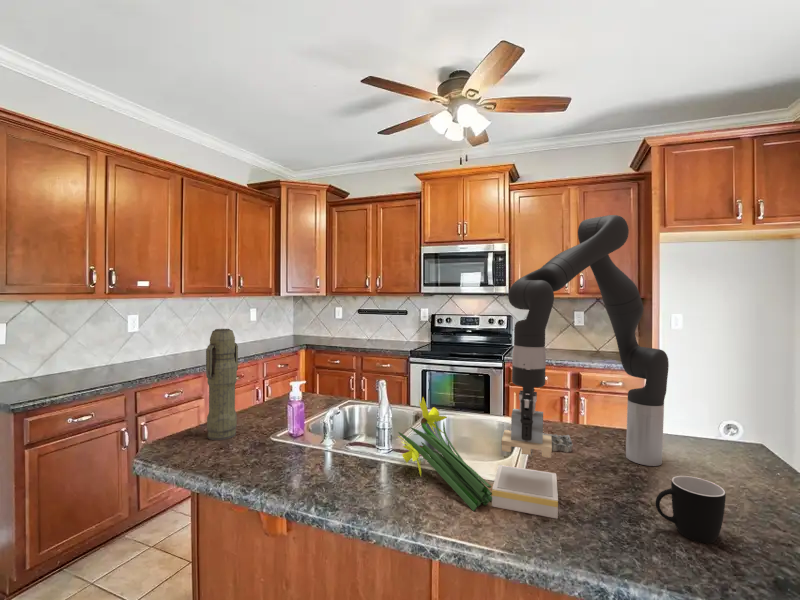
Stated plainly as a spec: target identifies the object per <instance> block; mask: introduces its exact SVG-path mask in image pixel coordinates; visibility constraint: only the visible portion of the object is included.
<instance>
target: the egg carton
mask: <svg viewBox="0 0 800 600" xmlns="http://www.w3.org/2000/svg"><path fill="white" fill-rule="evenodd" d="M543 435H550V436H551V439H552V452H558V451H561V452H564V453H571V452H572V449H573V446H574V445H573V441H572V439H571V436H570V434H566V435H565V434H564V435H562V434H559V435H558V434H556V433H555V434H551V433H550V434H548V433H544V432H543Z"/></svg>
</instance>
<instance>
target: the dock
mask: <svg viewBox="0 0 800 600" xmlns="http://www.w3.org/2000/svg"><path fill="white" fill-rule="evenodd" d="M557 479H558V478H557V473H555V472H550V471H549V472H548V471H543V470H536V469H530V468H525V467H524V468H522V467H516V466H510V465H503V464H498V466H497V468H496V474H495V478H494V479H493V481H494V482H493V485H492V487H491V488H492V489H491V493H492V495H491V496H492V501H491V507H493V508H499V509H504V510H508V511H509V510H510V511H515V512H519V513H526V514H530V515H536V516H542V517H547V518H552V519H558V518H559V517H558V515H559V512H558V511H559V510H558V509H559V495H558V481H557Z"/></svg>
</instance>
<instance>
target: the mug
mask: <svg viewBox="0 0 800 600" xmlns="http://www.w3.org/2000/svg"><path fill="white" fill-rule="evenodd" d="M670 484H671V486H670V487H671V488H669V489H668V488H667V489H665V490H662V491H661V492H660V493H658V494H657V495H656V498H655V508H656V510H657V512H658V514H659V516H661V517H662V518H663V519H665V520H667V521H669V522H670V523H674V526H675V527H676V529H677V531H678V532H679V534H680V535H682V536H684V537H685V538H687V539H689V540H691V541H695V542H696V543H697V542H698V543H702V544H712V543H714V542H716V541H717V539H718V537H719V535H720V533H721V529H722V526H723V522H724V521H723V520H724V516H725V510H726V509H725V508H726V497H727V495H726V491H725V490H724V488H723V487H722V486H721V485H718V484H717V483H714V482H712V481H710V480H707V479H703V478H700V477H696V476H691V475H690V476H688V475H676V476H673V477H672V478H671V483H670ZM667 495H671V507H672V516H670V515H667V514H665V512H663V510H662V509H661V506H660V504H661V501H662V499H663V498H664V497H665V496H667Z"/></svg>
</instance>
